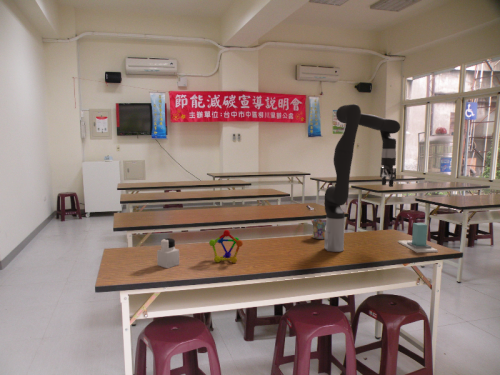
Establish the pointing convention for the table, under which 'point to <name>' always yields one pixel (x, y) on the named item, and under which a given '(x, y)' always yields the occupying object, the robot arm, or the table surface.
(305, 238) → the table surface
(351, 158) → the robot arm
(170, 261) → the grey block with knob
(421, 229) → the pillar
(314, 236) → the mug
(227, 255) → the educational toy
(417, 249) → the baseplate
